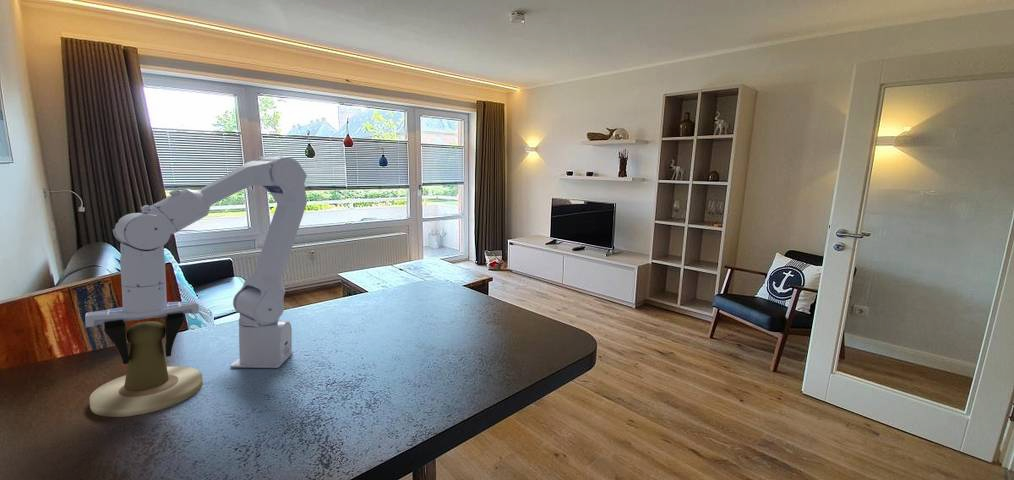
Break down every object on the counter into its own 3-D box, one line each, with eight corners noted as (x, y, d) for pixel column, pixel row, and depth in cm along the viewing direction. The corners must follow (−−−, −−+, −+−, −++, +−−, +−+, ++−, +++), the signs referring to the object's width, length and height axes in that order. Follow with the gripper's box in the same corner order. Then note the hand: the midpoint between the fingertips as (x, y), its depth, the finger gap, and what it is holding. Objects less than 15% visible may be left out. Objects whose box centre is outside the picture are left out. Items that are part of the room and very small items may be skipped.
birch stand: (219, 374, 81) (219, 366, 80) (166, 416, 66) (165, 408, 66) (136, 373, 79) (136, 365, 79) (62, 417, 64) (61, 407, 64)
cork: (145, 392, 70) (145, 331, 68) (114, 387, 70) (113, 326, 69) (177, 377, 76) (177, 320, 74) (148, 372, 76) (147, 316, 75)
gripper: (195, 274, 77) (197, 342, 79) (86, 282, 68) (91, 359, 70) (198, 282, 72) (201, 354, 74) (81, 292, 63) (87, 375, 64)
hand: (147, 358), depth 71 cm, fingers closed on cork, 5 cm apart
